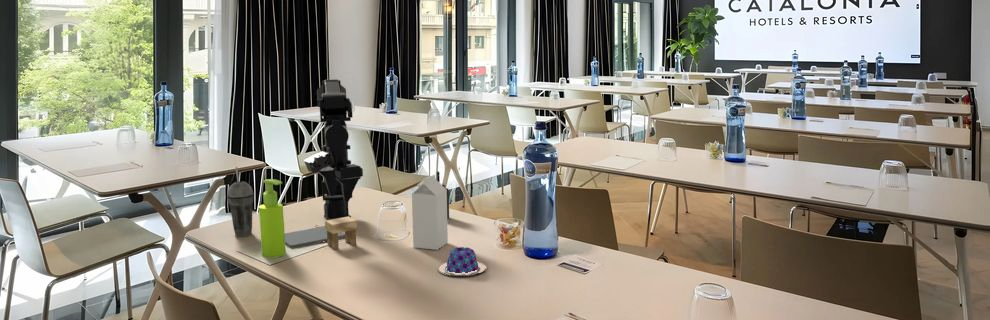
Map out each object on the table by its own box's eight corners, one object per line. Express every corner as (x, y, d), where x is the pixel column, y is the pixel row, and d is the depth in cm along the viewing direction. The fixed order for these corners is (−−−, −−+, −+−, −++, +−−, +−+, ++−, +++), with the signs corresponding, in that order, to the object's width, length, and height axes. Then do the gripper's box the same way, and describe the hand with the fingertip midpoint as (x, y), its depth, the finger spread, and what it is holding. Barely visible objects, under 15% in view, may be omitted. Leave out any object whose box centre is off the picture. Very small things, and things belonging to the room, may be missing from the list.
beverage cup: (261, 231, 203) (256, 163, 200) (250, 238, 196) (244, 169, 193) (237, 230, 204) (231, 163, 200) (225, 237, 197) (219, 168, 193)
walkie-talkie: (442, 215, 219) (441, 169, 216) (450, 217, 217) (449, 170, 214) (432, 219, 215) (431, 171, 212) (440, 221, 213) (439, 173, 210)
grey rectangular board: (328, 228, 206) (328, 225, 206) (346, 237, 197) (345, 234, 197) (275, 237, 197) (275, 235, 197) (291, 248, 187) (290, 245, 187)
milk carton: (447, 242, 191) (446, 175, 188) (437, 250, 185) (435, 180, 181) (424, 240, 194) (422, 173, 190) (413, 248, 187) (411, 178, 183)
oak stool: (349, 240, 194) (348, 216, 192) (357, 245, 190) (356, 220, 189) (326, 245, 190) (324, 220, 188) (333, 250, 186) (332, 224, 184)
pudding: (442, 262, 177) (441, 242, 176) (489, 263, 176) (489, 243, 175) (433, 278, 165) (433, 257, 164) (483, 280, 164) (483, 259, 163)
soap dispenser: (275, 259, 178) (270, 183, 174) (257, 255, 182) (252, 180, 178) (293, 253, 183) (288, 179, 179) (275, 249, 187) (270, 176, 183)
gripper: (293, 140, 187) (297, 197, 190) (321, 149, 172) (324, 210, 175) (332, 136, 194) (335, 191, 196) (362, 144, 179) (365, 203, 182)
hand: (339, 199), depth 187 cm, fingers open, 9 cm apart
